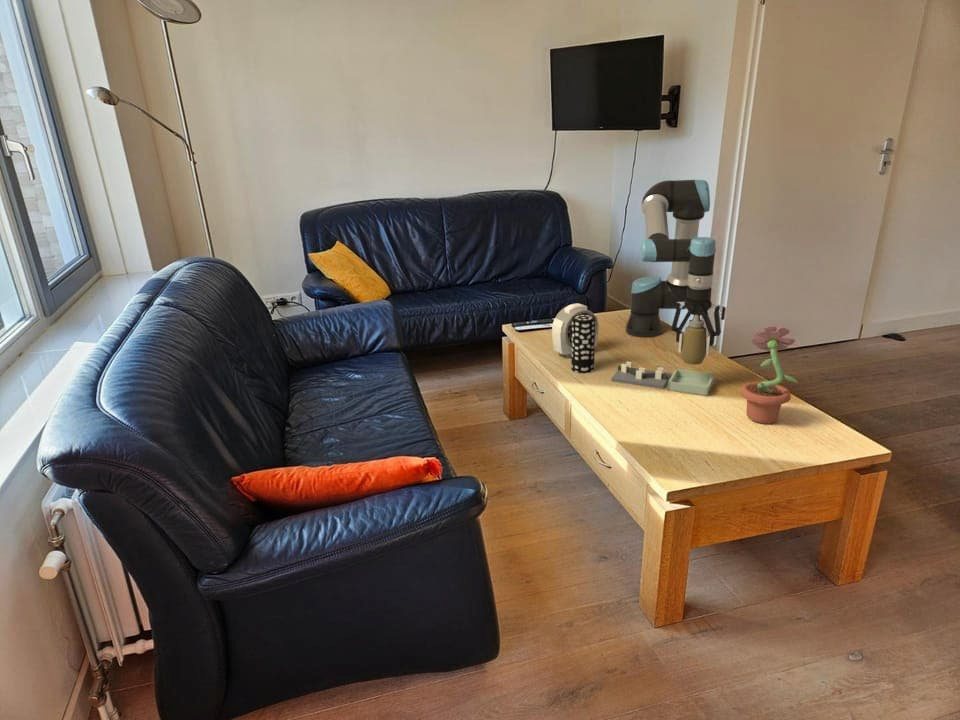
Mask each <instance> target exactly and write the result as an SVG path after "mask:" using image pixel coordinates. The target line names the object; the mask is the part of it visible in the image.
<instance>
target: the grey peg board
mask: <svg viewBox="0 0 960 720" xmlns="http://www.w3.org/2000/svg"><path fill="white" fill-rule="evenodd" d="M664 371H665V368H664V367H657V370H650V369H646V368H645V367H639V368H638V367H637V368H636V367H633V362H631V361H628V360H627V361H626V362H625V363H621V365H620V364H619V365H618V366H617V371H616V372H615V373H614V374H613V376H612V377H611V380H610V381H611V382H616V383H620V384H621V383H622V384H629V385H633V386H634V385H635V386H641V387H648V388H655V389H660V390H663V389H664V388H666V386H667V385H668V381H669V379H670V378H671V376H672V373H671V372H664Z"/></svg>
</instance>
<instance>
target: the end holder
mask: <svg viewBox="0 0 960 720" xmlns="http://www.w3.org/2000/svg"><path fill="white" fill-rule="evenodd" d="M714 383H715V373H712V372H711V373H710V372H705V371H704V372H703V371H695V370H689V369H682V368H675V369H674V371H673V373H672V374H671V377H670V379H669V380H668V382H667V389H666V390H667V391H670V392H676V393H682V394H691V395H697V396H704V397H708V396H709V394H710V392H711V390H712V387H713V385H714Z"/></svg>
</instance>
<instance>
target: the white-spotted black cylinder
mask: <svg viewBox="0 0 960 720" xmlns="http://www.w3.org/2000/svg"><path fill="white" fill-rule="evenodd" d="M595 348H596V347H595V316H593V315H588V314H579V315H574V316H573V317H572V357H571V358H570V361H571V362H570V363H571V364H570V365H571V367H570V368H571V369H570V370H571V371H572V372H574V373H578V374H588V373H589V374H590V373H592V372H594V371H595Z"/></svg>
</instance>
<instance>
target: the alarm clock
mask: <svg viewBox="0 0 960 720" xmlns="http://www.w3.org/2000/svg"><path fill="white" fill-rule="evenodd" d="M579 314H588V315H593V316H595V348H596V347H597V344H598V338H599V326H600V324H599V318H598V315H597V314H595V313H593V312H592V311H591V310H588V306H587V305H584V304H581V303H578V302H577V303H572V304H569V305H567V306H565V307H563V308H562V309H561V310H559V312H558V313H557V314H556V316H555V318H554V320H553V322H552V325H551V326H552V327H551V337H552V338H551V339H552V346H553V351H555V352H557V353H558V354H560V356H562V357H563V358H566V359H571V357H572V317H573V316H574V315H579Z"/></svg>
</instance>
